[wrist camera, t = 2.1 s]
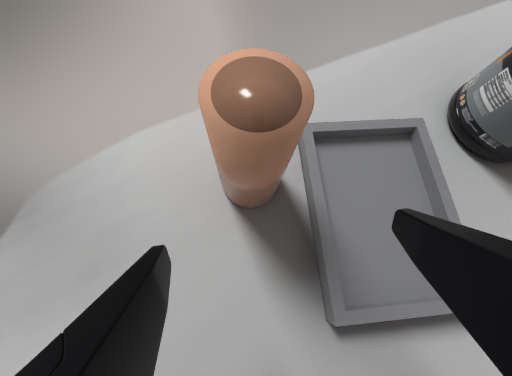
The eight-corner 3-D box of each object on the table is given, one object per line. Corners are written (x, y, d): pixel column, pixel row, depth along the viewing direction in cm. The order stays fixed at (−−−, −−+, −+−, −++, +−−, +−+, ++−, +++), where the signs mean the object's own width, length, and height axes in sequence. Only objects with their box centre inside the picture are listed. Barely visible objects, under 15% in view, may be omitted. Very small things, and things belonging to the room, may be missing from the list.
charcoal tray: (468, 304, 20) (491, 308, 18) (326, 320, 19) (335, 326, 17) (409, 128, 26) (422, 117, 24) (296, 134, 25) (301, 123, 23)
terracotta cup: (280, 205, 22) (323, 140, 10) (222, 209, 22) (198, 146, 10) (274, 153, 24) (305, 46, 12) (220, 156, 24) (197, 48, 12)
